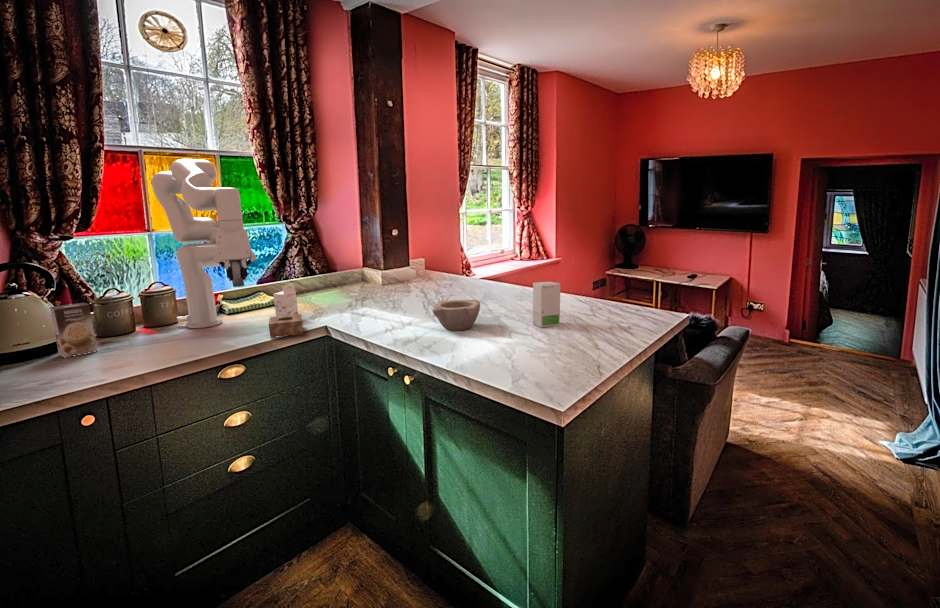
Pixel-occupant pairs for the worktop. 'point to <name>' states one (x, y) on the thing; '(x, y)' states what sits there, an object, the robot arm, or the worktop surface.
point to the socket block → (285, 325)
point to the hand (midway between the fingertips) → (237, 279)
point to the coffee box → (73, 329)
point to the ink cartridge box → (286, 301)
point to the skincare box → (546, 304)
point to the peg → (236, 273)
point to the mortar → (457, 313)
